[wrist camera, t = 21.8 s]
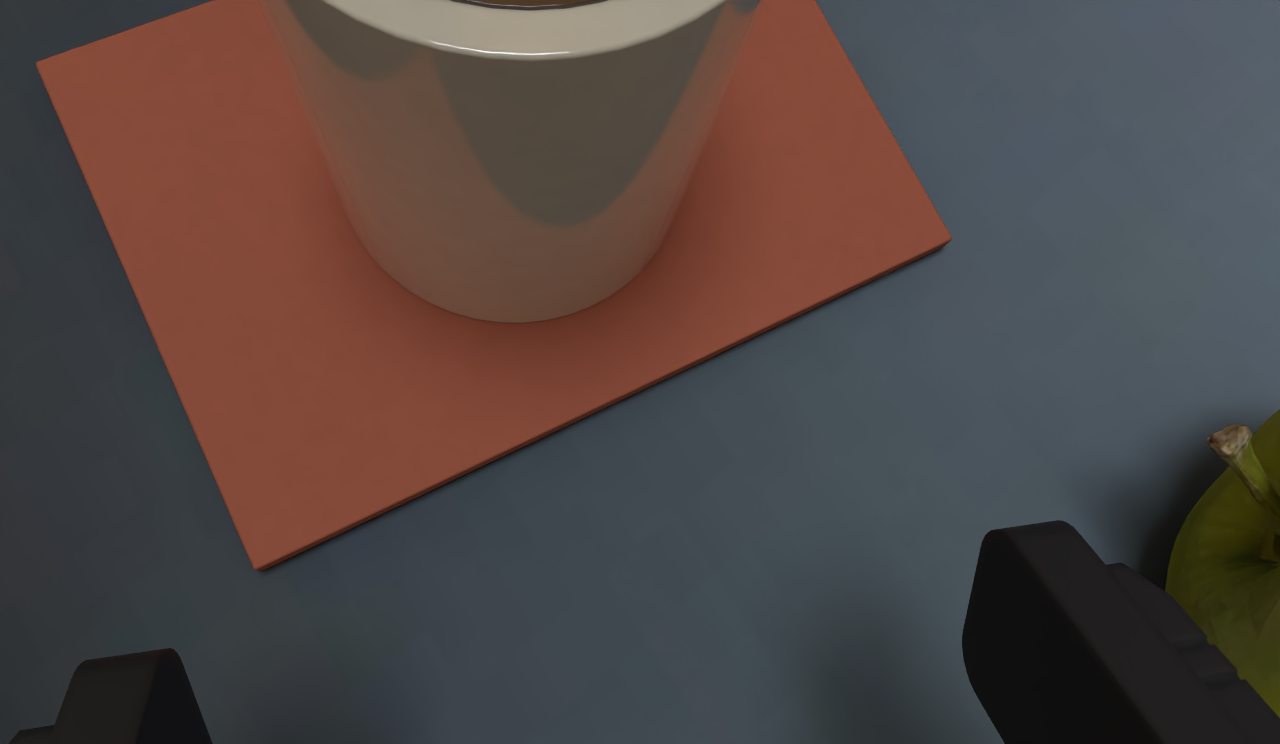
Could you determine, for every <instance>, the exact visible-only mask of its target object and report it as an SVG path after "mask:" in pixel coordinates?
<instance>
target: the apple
mask: <svg viewBox="0 0 1280 744" xmlns="http://www.w3.org/2000/svg"><path fill="white" fill-rule="evenodd" d="M1251 437H1252V438H1251ZM1207 442H1208V445H1209V447H1210V448H1211V449H1212V450H1213V451H1214V452H1215V453H1216V454H1217V455H1218V456H1219V457H1220V458H1221V459H1223V460H1224V461H1226V462H1227V463H1228V464H1229V465H1230V466H1229V467H1228V468H1227V469H1226V470H1225V471H1224V472H1223V473H1222V474H1221V475H1220V477H1219V478H1218V479H1217V480H1216V481H1215V482H1214V483H1213V484H1212V485H1211V486H1210V487H1209V488H1208V490H1207V491H1206V492H1205V493H1204V494H1203V495H1202V497H1201V498H1200V499H1199V500H1198V502H1197V503H1196V505H1195V506H1194V507H1193V509H1192V510H1191V512H1190V513H1189V514H1188V516H1187V518H1186V519H1185V521H1184V523H1183V525H1182V528H1181V530H1180V532H1179V534H1178V536H1177V538H1176V541H1175V544H1174V547H1173V550H1172V553H1171V557H1170V562H1169V567H1168V573H1167V581H1166V588H1165V592H1167V593H1169V594H1170V595H1171V596H1172V597H1173V598H1174V599H1175V600H1176V601H1177V602H1178V604H1179V605H1180V606H1181V607H1182V608H1183V609H1184V610H1185V611H1186V613H1187V614H1188V615H1189V616H1190V617H1191V618H1192V619H1193V621H1194V622H1195V623H1196V624H1197V625H1198V626H1199V627H1200V628H1201V630H1202V631H1203V632H1204V633H1205V634H1206V635H1207V641H1208V643H1209V644H1210V645H1214V644H1215V645H1216V647H1217V648H1218V649H1219V650H1220V651H1221V652H1222V653H1223V654H1224V656H1225V657H1226V658H1227V659H1228V660H1229V661H1230V662H1231V663H1232V665H1233V666H1234V667H1235V668H1236V669H1237V670H1238V671H1237V674H1238V677H1239V678H1240V679H1241V680H1243V679H1246V680H1247V682H1248V683H1249V684H1250V685H1251V686H1252V687H1253V688H1254V689H1255V691H1256V692H1257V693H1258V694H1259V695H1260V696H1261V697H1262V699H1263V700H1264V701H1265V702H1266V703H1267V704H1268V705H1269V706H1270V708H1271V709H1272V710H1273V711H1274V712H1275V713H1276V714H1277V716H1278V717H1279V718H1280V409H1279V410H1278V411H1277V412H1276V413H1275V414H1274V415H1272V416H1271V417H1270V418H1269V419H1268V420H1267V421H1266V422H1264V423H1263V425H1262V426H1261V427H1260V428H1259V429H1258V430H1257V431H1256V432H1255V433H1254V435H1253V436H1252V433H1251V431H1250V429H1249V428H1248V427H1247V426H1244V425H1238V424H1233V425H1227V426H1226V427H1225V428H1224V429H1223V430H1221V431H1219V432H1216V433H1213V434H1211V435H1209V437H1208V438H1207Z"/></svg>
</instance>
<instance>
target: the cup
mask: <svg viewBox="0 0 1280 744" xmlns="http://www.w3.org/2000/svg"><path fill="white" fill-rule="evenodd" d="M257 1H258V3H259V6H260V8H261V11H262V13H263V15H264V18H265V20H266V23H267V25H268V27H269V30H270V32H271V35H272V37H273V40H274V42H275V44H276V47H277V49H278V52H279V54H280V56H281V59H282V61H283V64H284V66H285V68H286V71H287V73H288V76H289V78H290V80H291V83H292V85H293V88H294V90H295V93H296V95H297V97H298V100H299V102H300V105H301V107H302V109H303V112H304V114H305V117H306V119H307V121H308V124H309V126H310V129H311V131H312V133H313V136H314V138H315V141H316V143H317V145H318V148H319V150H320V153H321V155H322V158H323V160H324V162H325V165H326V167H327V170H328V172H329V174H330V177H331V179H332V182H333V184H334V186H335V189H336V191H337V194H338V196H339V198H340V201H341V203H342V206H343V208H344V211H345V213H346V215H347V218H348V220H349V223H350V224H351V226H352V228H353V230H354V232H355V233H356V235H357V237H358V239H359V240H360V242H361V244H362V245H363V246H364V248H365V249H366V250H367V252H368V253H369V254H370V255H371V257H372V258H373V259H374V261H375V262H376V263H377V264H378V265H379V266H380V267H381V268H382V269H383V270H384V271H385V272H386V273H387V274H388V275H389V276H390V277H391V278H393V279H394V280H395V281H397V282H398V283H399V284H400V285H402V286H403V287H404V288H406V289H407V290H408V291H410V292H411V293H413V294H415V295H417V296H418V297H420V298H422V299H423V300H425V301H427V302H429V303H431V304H433V305H435V306H438V307H440V308H442V309H445V310H447V311H450V312H452V313H456V314H459V315H463V316H466V317H470V318H474V319H479V320H486V321H493V322H506V323H526V322H535V321H545V320H549V319H554V318H558V317H562V316H567V315H570V314H573V313H575V312H578V311H581V310H583V309H586V308H589V307H591V306H593V305H595V304H596V303H598V302H600V301H602V300H604V299H606V298H608V297H610V296H611V295H612V294H614V293H615V292H617V291H618V290H619V289H621V288H622V287H624V286H625V285H626V284H628V283H629V282H630V281H631V280H632V279H633V278H634V277H635V276H636V275H637V274H638V273H640V272H641V271H642V270H643V269H644V268H645V266H646V265H647V264H648V263H649V261H650V260H651V259H652V258H653V256H654V255H655V254H656V253H657V251H658V250H659V248H660V246H661V245H662V243H663V241H664V240H665V238H666V236H667V235H668V233H669V230H670V228H671V225H672V223H673V221H674V218H675V216H676V214H677V211H678V209H679V206H680V204H681V202H682V199H683V197H684V194H685V192H686V190H687V187H688V185H689V182H690V180H691V178H692V175H693V173H694V170H695V168H696V166H697V163H698V161H699V158H700V156H701V153H702V151H703V149H704V146H705V144H706V141H707V139H708V137H709V134H710V132H711V129H712V127H713V125H714V122H715V120H716V117H717V115H718V113H719V110H720V108H721V105H722V103H723V101H724V98H725V96H726V93H727V91H728V89H729V86H730V84H731V81H732V79H733V77H734V74H735V72H736V69H737V67H738V65H739V62H740V60H741V57H742V55H743V53H744V50H745V48H746V45H747V43H748V41H749V38H750V36H751V33H752V31H753V29H754V26H755V24H756V21H757V19H758V17H759V14H760V12H761V9H762V7H763V5H764V2H765V0H257Z"/></svg>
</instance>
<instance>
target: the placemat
mask: <svg viewBox="0 0 1280 744" xmlns="http://www.w3.org/2000/svg"><path fill="white" fill-rule="evenodd" d="M36 67H37V69H38V71H39V74H40V76H41V78H42V81H43V83H44V85H45V87H46V90H47V92H48V94H49V97H50V99H51V101H52V104H53V106H54V108H55V111H56V113H57V115H58V118H59V120H60V122H61V124H62V127H63V129H64V131H65V134H66V136H67V138H68V141H69V143H70V145H71V148H72V150H73V152H74V155H75V157H76V159H77V162H78V164H79V166H80V168H81V171H82V173H83V175H84V178H85V180H86V182H87V185H88V187H89V189H90V192H91V194H92V196H93V199H94V201H95V203H96V205H97V208H98V210H99V212H100V215H101V217H102V219H103V222H104V224H105V226H106V229H107V231H108V233H109V236H110V238H111V240H112V243H113V245H114V247H115V249H116V252H117V254H118V256H119V259H120V261H121V263H122V266H123V268H124V270H125V273H126V275H127V277H128V280H129V282H130V284H131V286H132V289H133V291H134V293H135V296H136V298H137V300H138V303H139V305H140V307H141V310H142V312H143V314H144V317H145V319H146V321H147V324H148V326H149V328H150V330H151V333H152V335H153V337H154V340H155V342H156V344H157V347H158V349H159V351H160V354H161V356H162V358H163V361H164V363H165V365H166V367H167V370H168V372H169V374H170V377H171V379H172V381H173V384H174V386H175V388H176V391H177V393H178V395H179V398H180V400H181V402H182V405H183V407H184V409H185V411H186V414H187V416H188V418H189V421H190V423H191V425H192V428H193V430H194V432H195V435H196V437H197V439H198V442H199V444H200V446H201V448H202V451H203V453H204V455H205V458H206V460H207V462H208V465H209V467H210V469H211V472H212V474H213V476H214V479H215V481H216V483H217V486H218V488H219V490H220V492H221V495H222V497H223V499H224V502H225V504H226V506H227V509H228V511H229V513H230V516H231V518H232V520H233V523H234V525H235V527H236V529H237V532H238V534H239V536H240V539H241V541H242V543H243V546H244V548H245V550H246V553H247V555H248V557H249V560H250V562H251V564H252V567H253V568H254V569H255V570H260V571H262V570H265V569H267V568H269V567H271V566H274V565H276V564H278V563H280V562H282V561H284V560H286V559H288V558H290V557H293V556H295V555H297V554H299V553H301V552H303V551H305V550H307V549H309V548H311V547H314V546H316V545H318V544H320V543H322V542H324V541H326V540H328V539H330V538H332V537H335V536H337V535H339V534H341V533H343V532H345V531H347V530H349V529H351V528H354V527H356V526H358V525H360V524H362V523H364V522H366V521H368V520H370V519H372V518H375V517H377V516H379V515H381V514H383V513H385V512H387V511H389V510H391V509H394V508H396V507H398V506H400V505H402V504H404V503H406V502H408V501H410V500H412V499H415V498H417V497H419V496H421V495H423V494H425V493H427V492H429V491H431V490H433V489H436V488H438V487H440V486H442V485H444V484H446V483H448V482H450V481H452V480H455V479H457V478H459V477H461V476H463V475H465V474H467V473H469V472H471V471H473V470H476V469H478V468H480V467H482V466H484V465H486V464H488V463H490V462H492V461H494V460H497V459H499V458H501V457H503V456H505V455H507V454H509V453H511V452H513V451H516V450H518V449H520V448H522V447H524V446H526V445H528V444H530V443H532V442H534V441H537V440H539V439H541V438H543V437H545V436H547V435H549V434H551V433H553V432H555V431H558V430H560V429H562V428H564V427H566V426H568V425H570V424H572V423H574V422H577V421H579V420H581V419H583V418H585V417H587V416H589V415H591V414H593V413H595V412H598V411H600V410H602V409H604V408H606V407H608V406H610V405H612V404H614V403H617V402H619V401H621V400H623V399H625V398H627V397H629V396H631V395H633V394H635V393H638V392H640V391H642V390H644V389H646V388H648V387H650V386H652V385H654V384H656V383H659V382H661V381H663V380H665V379H667V378H669V377H671V376H673V375H675V374H678V373H680V372H682V371H684V370H686V369H688V368H690V367H692V366H694V365H696V364H699V363H701V362H703V361H705V360H707V359H709V358H711V357H713V356H715V355H717V354H720V353H722V352H724V351H726V350H728V349H730V348H732V347H734V346H736V345H739V344H741V343H743V342H745V341H747V340H749V339H751V338H753V337H755V336H757V335H760V334H762V333H764V332H766V331H768V330H770V329H772V328H774V327H776V326H779V325H781V324H783V323H785V322H787V321H789V320H791V319H793V318H795V317H797V316H800V315H802V314H804V313H806V312H808V311H810V310H812V309H814V308H816V307H818V306H821V305H823V304H825V303H827V302H829V301H831V300H833V299H835V298H837V297H840V296H842V295H844V294H846V293H848V292H850V291H852V290H854V289H856V288H858V287H861V286H863V285H865V284H867V283H869V282H871V281H873V280H875V279H877V278H879V277H882V276H884V275H886V274H888V273H890V272H892V271H894V270H896V269H898V268H901V267H903V266H905V265H907V264H909V263H911V262H913V261H915V260H917V259H919V258H922V257H924V256H926V255H928V254H930V253H932V252H934V251H936V250H938V249H940V248H942V247H944V246H945V245H946V244H947V243H948V242H950V241H951V239H952V237H951V235H950V233H949V231H948V230H947V228H946V226H945V224H944V223H943V221H942V219H941V218H940V216H939V214H938V212H937V211H936V209H935V207H934V205H933V204H932V202H931V200H930V199H929V197H928V195H927V193H926V192H925V190H924V188H923V186H922V185H921V183H920V181H919V179H918V178H917V176H916V174H915V173H914V171H913V169H912V167H911V166H910V164H909V162H908V160H907V159H906V157H905V155H904V153H903V152H902V150H901V148H900V147H899V145H898V143H897V141H896V140H895V138H894V136H893V134H892V133H891V131H890V129H889V127H888V126H887V124H886V122H885V121H884V119H883V117H882V115H881V114H880V112H879V110H878V108H877V107H876V105H875V103H874V101H873V100H872V98H871V96H870V95H869V93H868V91H867V89H866V88H865V86H864V84H863V82H862V81H861V79H860V77H859V75H858V74H857V72H856V70H855V69H854V67H853V65H852V63H851V62H850V60H849V58H848V56H847V55H846V53H845V51H844V49H843V48H842V46H841V44H840V43H839V41H838V39H837V37H836V36H835V34H834V32H833V30H832V29H831V27H830V25H829V23H828V22H827V20H826V18H825V17H824V15H823V13H822V11H821V10H820V8H819V6H818V4H817V3H816V1H815V0H765V2H764V5H763V7H762V9H761V12H760V14H759V17H758V19H757V21H756V24H755V26H754V29H753V31H752V33H751V36H750V38H749V41H748V43H747V45H746V48H745V50H744V53H743V55H742V57H741V60H740V62H739V65H738V67H737V69H736V72H735V74H734V77H733V79H732V81H731V84H730V86H729V89H728V91H727V93H726V96H725V98H724V101H723V103H722V105H721V108H720V110H719V113H718V115H717V117H716V120H715V122H714V125H713V127H712V129H711V132H710V134H709V137H708V139H707V141H706V144H705V146H704V149H703V151H702V153H701V156H700V158H699V161H698V163H697V166H696V168H695V170H694V173H693V175H692V178H691V180H690V182H689V185H688V187H687V190H686V192H685V194H684V197H683V199H682V202H681V204H680V206H679V209H678V211H677V214H676V216H675V218H674V221H673V223H672V225H671V228H670V230H669V233H668V235H667V236H666V238H665V240H664V241H663V243H662V245H661V246H660V248H659V250H658V251H657V253H656V254H655V255H654V256H653V258H652V259H651V260H650V261H649V263H648V264H647V265H646V266H645V268H644V269H643V270H642V271H641V272H640V273H638V274H637V275H636V276H635V277H634V278H633V279H632V280H631V281H630V282H629V283H628V284H626V285H625V286H624V287H622V288H621V289H619V290H618V291H617V292H615V293H614V294H612V295H611V296H610V297H608V298H606V299H604V300H602V301H600V302H598V303H596V304H595V305H593V306H591V307H589V308H586V309H583V310H581V311H578V312H575V313H573V314H570V315H567V316H562V317H558V318H554V319H549V320H545V321H535V322H526V323H506V322H493V321H486V320H479V319H474V318H470V317H466V316H463V315H459V314H456V313H452V312H450V311H447V310H445V309H442V308H440V307H438V306H435V305H433V304H431V303H429V302H427V301H425V300H423V299H422V298H420V297H418V296H417V295H415V294H413V293H411V292H410V291H408V290H407V289H406V288H404V287H403V286H402V285H400V284H399V283H398V282H397V281H395V280H394V279H393V278H391V277H390V276H389V275H388V274H387V273H386V272H385V271H384V270H383V269H382V268H381V267H380V266H379V265H378V264H377V263H376V262H375V261H374V259H373V258H372V257H371V255H370V254H369V253H368V252H367V250H366V249H365V248H364V246H363V245H362V244H361V242H360V240H359V239H358V237H357V235H356V233H355V232H354V230H353V228H352V226H351V224H350V223H349V220H348V218H347V215H346V213H345V211H344V208H343V206H342V203H341V201H340V198H339V196H338V194H337V191H336V189H335V186H334V184H333V182H332V179H331V177H330V174H329V172H328V170H327V167H326V165H325V162H324V160H323V158H322V155H321V153H320V150H319V148H318V145H317V143H316V141H315V138H314V136H313V133H312V131H311V129H310V126H309V124H308V121H307V119H306V117H305V114H304V112H303V109H302V107H301V105H300V102H299V100H298V97H297V95H296V93H295V90H294V88H293V85H292V83H291V80H290V78H289V76H288V73H287V71H286V68H285V66H284V64H283V61H282V59H281V56H280V54H279V52H278V49H277V47H276V44H275V42H274V40H273V37H272V35H271V32H270V30H269V27H268V25H267V23H266V20H265V18H264V15H263V13H262V11H261V8H260V6H259V3H258V1H257V0H213V1H210V2H207V3H204V4H201V5H198V6H196V7H193V8H190V9H187V10H184V11H181V12H178V13H176V14H173V15H170V16H167V17H164V18H161V19H158V20H155V21H153V22H150V23H147V24H144V25H141V26H138V27H135V28H132V29H130V30H127V31H124V32H121V33H118V34H115V35H112V36H110V37H107V38H104V39H101V40H98V41H95V42H92V43H89V44H87V45H84V46H81V47H78V48H75V49H72V50H69V51H67V52H64V53H61V54H58V55H55V56H52V57H49V58H46V59H44V60H41V61H38V62H36Z"/></svg>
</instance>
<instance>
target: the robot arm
mask: <svg viewBox="0 0 1280 744" xmlns="http://www.w3.org/2000/svg"><path fill="white" fill-rule="evenodd" d="M962 648H963V657H964V662H965V667H966V670H967V674H968V677H969V680H970V683H971V685H972V687H973V690H974V691H975V693H976V695H977V697H978V699H979V700H980V702H981V704H982V706H983V707H984V709H985V711H986V712H987V714H988V716H989V717H990V719H991V721H992V723H993V724H994V726H995V728H996V729H997V731H998V733H999V734H1000V736H1001V738H1002V740H1003V741H1004V743H1005V744H1280V718H1279V717H1278V716H1277V714H1276V713H1275V712H1274V711H1273V710H1272V709H1271V708H1270V706H1269V705H1268V704H1267V703H1266V702H1265V701H1264V700H1263V699H1262V697H1261V696H1260V695H1259V694H1258V693H1257V692H1256V691H1255V689H1254V688H1253V687H1252V686H1251V685H1250V684H1249V683H1248V682H1247V680H1246V679H1243V680H1241V679H1240V678H1239V677H1238V674H1237V671H1238V670H1237V669H1236V668H1235V667H1234V666H1233V665H1232V663H1231V662H1230V661H1229V660H1228V659H1227V658H1226V657H1225V656H1224V654H1223V653H1222V652H1221V651H1220V650H1219V649H1218V648H1217V647H1216V645H1215V644H1214V645H1210V644H1209V643H1208V641H1207V635H1206V634H1205V633H1204V632H1203V631H1202V630H1201V628H1200V627H1199V626H1198V625H1197V624H1196V623H1195V622H1194V621H1193V619H1192V618H1191V617H1190V616H1189V615H1188V614H1187V613H1186V611H1185V610H1184V609H1183V608H1182V607H1181V606H1180V605H1179V604H1178V602H1177V601H1176V600H1175V599H1174V598H1173V597H1172V596H1171V595H1170V594H1169V593H1167V592H1165V591H1164V590H1162V589H1161V588H1159V587H1158V586H1156V585H1155V584H1153V583H1152V582H1150V581H1149V580H1147V579H1146V578H1144V577H1143V576H1141V575H1140V574H1138V573H1136V572H1135V571H1133V570H1132V569H1130V568H1129V567H1127V566H1126V565H1124V564H1123V563H1116V564H1110V565H1105V564H1104V562H1103V561H1102V560H1101V559H1100V558H1099V556H1098V555H1097V554H1096V553H1095V552H1094V551H1093V549H1092V548H1091V547H1090V546H1089V545H1088V543H1087V542H1086V541H1085V540H1084V539H1083V537H1082V536H1081V535H1080V534H1079V533H1078V532H1077V530H1076V529H1075V528H1074V527H1072V526H1071V525H1070V524H1068V523H1066V522H1064V521H1059V520H1057V521H1051V522H1044V523H1037V524H1030V525H1024V526H1017V527H1010V528H1003V529H996V530H991V531H990V532H988V533H987V534H986V535H985V537H984V539H983V541H982V545H981V549H980V553H979V558H978V563H977V567H976V572H975V577H974V582H973V586H972V591H971V596H970V600H969V605H968V610H967V615H966V619H965V624H964V629H963V635H962ZM9 744H212V741H211V738H210V736H209V733H208V730H207V728H206V725H205V722H204V720H203V717H202V714H201V712H200V709H199V706H198V704H197V701H196V698H195V695H194V693H193V690H192V687H191V685H190V682H189V679H188V677H187V674H186V671H185V669H184V666H183V663H182V661H181V659H180V657H179V655H178V653H177V652H176V651H175V650H174V649H171V648H167V649H160V650H154V651H147V652H140V653H133V654H126V655H119V656H113V657H106V658H99V659H92V660H86V661H84V662H82V663H81V664H80V665H79V666H78V667H77V669H76V670H75V672H74V674H73V677H72V679H71V681H70V684H69V687H68V690H67V692H66V695H65V698H64V701H63V703H62V706H61V709H60V712H59V714H58V717H57V720H56V723H55V725H52V726H46V727H39V728H33V729H26V730H20V731H19V732H18V733H17V734H16V736H15V737H14V738H13V739H12V740H11V742H10V743H9Z"/></svg>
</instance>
